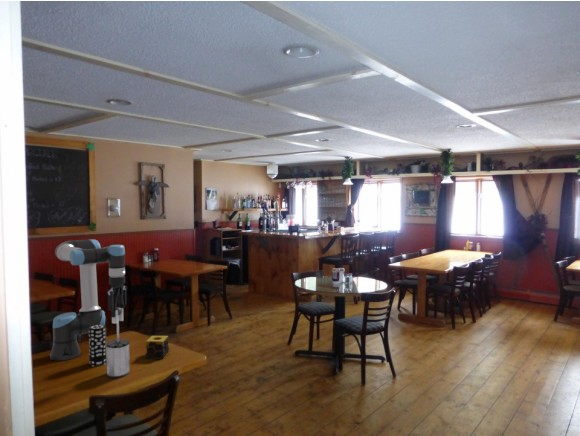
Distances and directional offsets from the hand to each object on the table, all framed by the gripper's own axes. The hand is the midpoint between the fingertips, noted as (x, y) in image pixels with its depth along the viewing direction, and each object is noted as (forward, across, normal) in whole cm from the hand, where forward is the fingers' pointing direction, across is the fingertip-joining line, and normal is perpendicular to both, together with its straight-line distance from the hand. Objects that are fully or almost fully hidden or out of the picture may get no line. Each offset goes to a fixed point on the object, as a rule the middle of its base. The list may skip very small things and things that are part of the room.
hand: (117, 321), depth 212 cm
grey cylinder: (+27, +1, 0) cm, 27 cm away
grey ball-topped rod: (+17, 0, 0) cm, 17 cm away
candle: (+27, +27, -6) cm, 39 cm away
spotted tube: (+27, +9, +19) cm, 34 cm away
